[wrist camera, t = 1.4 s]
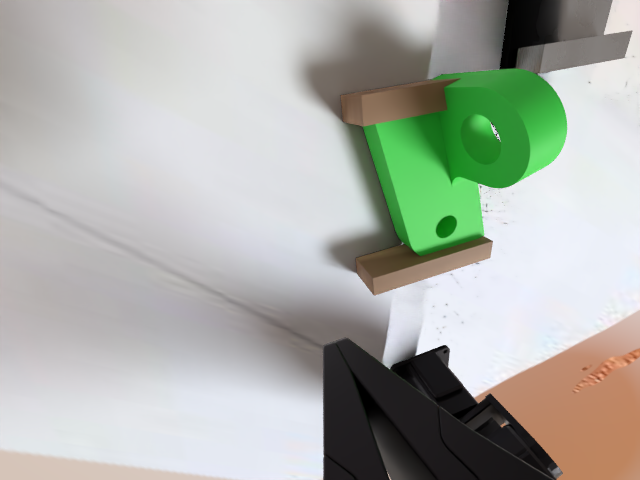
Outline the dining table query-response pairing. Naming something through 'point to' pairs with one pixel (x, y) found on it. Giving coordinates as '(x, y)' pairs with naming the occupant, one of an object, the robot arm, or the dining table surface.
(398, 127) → the mechanical part
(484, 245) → the beam rails
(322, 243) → the dining table surface
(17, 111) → the dining table surface
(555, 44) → the u-shaped bracket
